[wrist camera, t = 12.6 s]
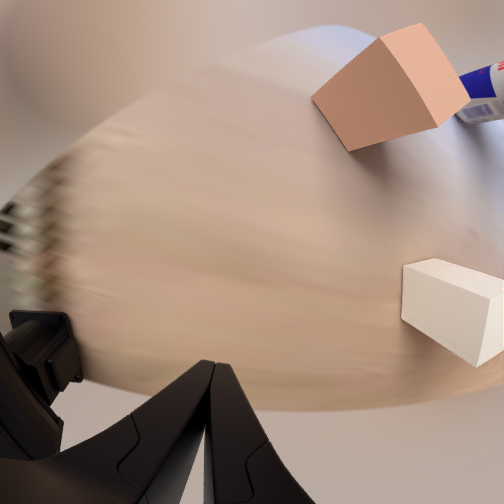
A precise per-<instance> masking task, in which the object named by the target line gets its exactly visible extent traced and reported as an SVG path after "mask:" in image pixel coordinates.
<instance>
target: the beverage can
mask: <svg viewBox="0 0 504 504" xmlns="http://www.w3.org/2000/svg"><path fill="white" fill-rule="evenodd" d="M459 79H460V80H461V82H462V84H463V86H464V88H465V89H466V91H467V93H468V95H469V97H470V99H471V101H470V102H469V103H467V104H466V105H465V106H464V107H462V108H461V109H460V110H459V111H458V112H456V113H455V114H456V115H457V116H458V117H459V118H461V119H462V120H463V121H464V122H466V123H468V124H478V123H483V122H488V121H494V120H500V119H504V61H502V62H499V63H496V64H493V65H490V66H487V67H484V68H481V69H479V70H476V71H473V72H470V73H468V74H465V75H462V76H460V77H459Z"/></svg>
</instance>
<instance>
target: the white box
mask: <svg viewBox="0 0 504 504" xmlns="http://www.w3.org/2000/svg"><path fill="white" fill-rule="evenodd" d="M401 319H403V320H404V321H406V322H407V323H409V324H410V325H412V326H413V327H415V328H417V329H418V330H420V331H421V332H423V333H424V334H426V335H427V336H429V337H430V338H432V339H433V340H435V341H436V342H438V343H440V344H441V345H443V346H444V347H446V348H447V349H449V350H450V351H452V352H453V353H455V354H456V355H458V356H459V357H461V358H462V359H464V360H465V361H467V362H468V363H470V364H471V365H473V366H474V367H475V368H477V367H478V366H480V365H481V364H483V363H485V362H486V361H488V360H489V359H491V358H492V357H494V356H495V355H497V354H498V353H500V352H501V351H503V350H504V280H502V279H499V278H496V277H493V276H490V275H487V274H484V273H481V272H477V271H474V270H471V269H468V268H465V267H462V266H459V265H455V264H452V263H449V262H446V261H442V260H439V259H436V258H434V259H430V260H425V261H421V262H416V263H412V264H407V265H403V294H402V313H401Z"/></svg>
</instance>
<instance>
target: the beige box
mask: <svg viewBox="0 0 504 504" xmlns="http://www.w3.org/2000/svg"><path fill="white" fill-rule="evenodd" d="M311 99H312V100H313V101H314V103H315V104H316V105H317V107H318V108H319V109H320V111H321V112H322V114H323V115H324V116H325V118H326V119H327V121H328V122H329V124H330V125H331V126H332V128H333V129H334V131H335V132H336V134H337V135H338V137H339V138H340V140H341V141H342V143H343V144H344V146H345V147H346V149H347V151H348V152H349V151H352V150H356V149H359V148H362V147H366V146H369V145H373V144H376V143H380V142H383V141H387V140H390V139H394V138H398V137H401V136H405V135H409V134H413V133H417V132H421V131H425V130H429V129H433V128H437V127H439V126H440V125H441V124H443V123H444V122H445V121H446V120H448V119H449V118H450V117H451V116H453V115H454V114H455V113H456V112H458V111H459V110H460V109H461V108H462V107H464V106H465V105H466V104H467V103H469V102H470V101H471V99H470V97H469V95H468V93H467V91H466V89H465V88H464V86H463V84H462V82H461V80H460V79H459V77H458V75H457V74H456V72H455V70H454V69H453V67H452V65H451V64H450V62H449V61H448V59H447V58H446V56H445V54H444V53H443V51H442V50H441V48H440V47H439V45H438V44H437V43H436V41H435V40H434V38H433V37H432V36H431V34H430V33H429V32H428V30H427V29H426V27H425V26H424V25H423V24H422V23H419V24H416V25H413V26H409V27H406V28H404V29H400V30H398V31H395V32H392V33H389V34H386V35H384V36H381V37H379V38H378V39H376V40H375V41H374V42H373V43H372V44H370V45H369V46H368V47H367V48H366V49H364V50H363V51H362V52H361V53H360V54H359V55H357V56H356V57H355V58H354V59H353V60H351V61H350V62H349V63H348V64H347V65H346V66H345V67H343V68H342V69H341V70H340V71H339V72H338V73H337V74H336V75H334V76H333V77H332V78H331V79H330V80H329V81H328V82H327V83H325V84H324V85H323V86H322V87H321V88H320V89H319V90H318V91H317V92H316V93H315V94H313V95H312V96H311Z"/></svg>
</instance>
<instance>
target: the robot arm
mask: <svg viewBox="0 0 504 504" xmlns="http://www.w3.org/2000/svg"><path fill="white" fill-rule="evenodd" d="M14 316H15V317H14ZM9 317H10V321H11V325H12V329H13V330H12V331H10V332H9V333H8V334H6V335H5V336H4V337H3V336H2V334H1V332H0V504H179V502H180V500H181V497H182V494H183V491H184V489H185V485H186V483H187V480H188V477H189V474H190V471H191V469H192V465H193V463H194V460H195V457H196V454H197V451H198V448H199V445H200V443H201V440H202V437H203V433H204V430H205V441H204V504H316V503H315V502H314V501H313V500H312V499H311V498H310V497H309V495H308V494H307V493H306V492H305V491H304V489H303V488H302V487H301V486H300V485H299V484H298V483H297V481H296V480H295V479H294V477H293V476H292V475H291V474H290V472H289V471H288V470H287V468H286V467H285V466H284V464H283V462H282V461H281V459H280V458H279V456H278V454H277V453H276V451H275V449H274V448H273V446H272V444H271V442H269V439H268V437H267V435H266V433H265V432H264V430H263V428H262V426H261V424H260V422H259V420H258V418H257V417H256V415H255V413H254V411H253V409H252V407H251V405H250V403H249V401H248V399H247V397H246V395H245V393H244V391H243V389H242V387H241V385H240V383H239V381H238V379H237V377H236V375H235V373H234V371H233V369H232V367H231V365H230V364H225V363H219V362H217V363H216V364H215V362H213V361H208V360H200V361H199V362H198V363H196V364H195V365H194V366H193V367H191V368H190V369H189V370H187V371H186V372H185V373H184V374H182V375H181V376H180V377H178V378H177V379H176V380H174V381H173V382H172V383H170V384H169V385H168V386H167V387H165V388H164V389H163V390H161V391H160V392H159V393H157V394H156V395H155V396H153V397H152V398H150V399H149V400H148V401H147V402H145V403H144V404H142V405H141V406H140V407H138V408H137V409H135V410H134V411H133V412H131V413H130V415H127V416H126V417H124V418H123V419H121V420H120V421H118V422H117V423H115V424H114V425H112V426H111V427H109V428H108V429H106V430H104V431H103V432H101V433H99V434H97V435H95V436H93V437H92V438H90V439H88V440H85V441H83V442H81V443H79V444H77V445H75V446H73V447H71V448H69V449H66V450H64V451H62V452H60V446H61V439H62V431H63V425H64V422H63V420H62V419H61V418H60V417H58V416H57V415H56V414H55V413H54V411H53V410H52V409H51V408H50V406H51V404H52V403H53V401H54V400H55V398H56V397H57V395H58V394H59V392H63V391H64V390H65V388H66V387H67V385H68V384H69V382H77V383H80V382H82V380H83V378H84V377H83V373H82V370H81V367H80V366H81V363H80V359H79V356H78V352H77V348H76V344H75V341H74V339H73V337H72V333H71V329H70V325H69V320H68V317H67V315H66V314H65V313H64V312H49V311H26V310H12V311H11V312H10V313H9ZM60 317H62V318H63V320H64V321H63V320H61V318H60ZM77 376H78V377H79V378H78V377H77Z"/></svg>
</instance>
